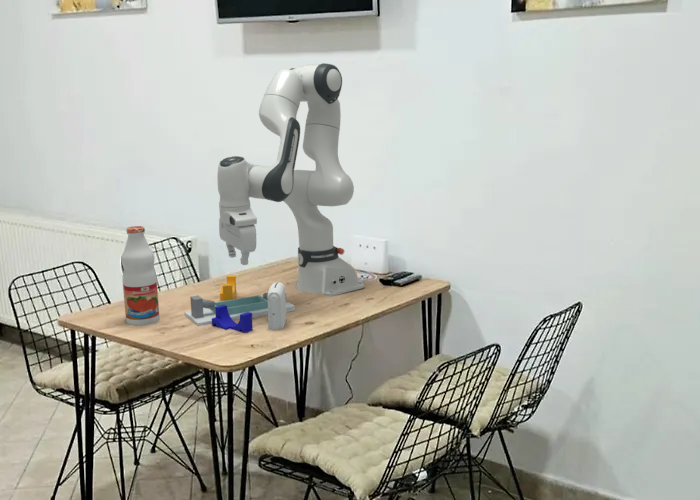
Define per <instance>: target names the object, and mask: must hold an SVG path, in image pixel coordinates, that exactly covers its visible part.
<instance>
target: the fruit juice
mask: <svg viewBox="0 0 700 500" xmlns="http://www.w3.org/2000/svg"><path fill="white" fill-rule="evenodd" d="M145 231H146V230H145V226H141V225H133V226H128V227H127V228H126V234H127V240H126V243H125V246H124V250H123V252H122V254H121V259H120V261H121V264H122V267H123V272H122V279H121V280H122V290H123V291H122V292H123V303H124V314H125V322H126V324H128V325H132V326H146V325H147V326H148V325H151V324H154V323H155V324H156V323H157V322H159V321H160V305H159V295H158V294H159V293H158V277H157V273H156V269H155V267H154V264H155V254H154V252H153V250H152V249H151V247H150V245H149V243H148V241H147V239H146V237H145Z"/></svg>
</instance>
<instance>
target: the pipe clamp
mask: <svg viewBox="0 0 700 500" xmlns="http://www.w3.org/2000/svg"><path fill="white" fill-rule="evenodd" d="M236 279H237V278H236V274H234V275H233V274H228V275H226V283H225V284H222V285H221V287H220V291H219V300H220V301H219V302H221V301H226V300H232V299H236V296H237V282H236V281H237V280H236Z"/></svg>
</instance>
